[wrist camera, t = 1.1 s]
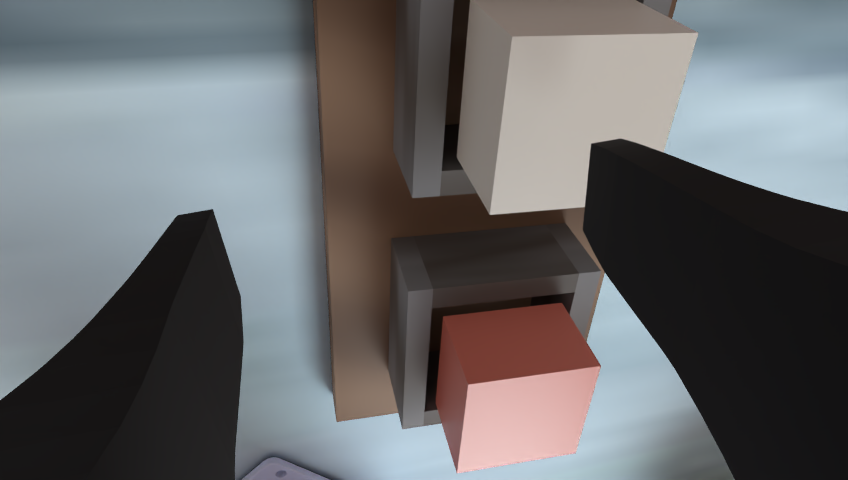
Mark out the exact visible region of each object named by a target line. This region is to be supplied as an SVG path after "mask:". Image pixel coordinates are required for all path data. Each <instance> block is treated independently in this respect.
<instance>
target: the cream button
mask: <svg viewBox="0 0 848 480" xmlns="http://www.w3.org/2000/svg"><path fill="white" fill-rule="evenodd" d="M697 36H698V32H696V31H694V30H692V29H690V28H688V27H686V26H684V25H682V24H680V23H679V22H677V21H675V20H673V19H671V18H669V17H667V16H665V15H663V14H661V13H659V12H657V11H656V10H654V9H652V8H650V7H648V6H646V5H644V4H642V3H640V2H638V1H636V0H470V7H469V19H468V30H467V42H466V54H465V65H464V77H463V89H462V100H461V112H460V124H459V135H458V147H457V159H458V161H459V162H460V164H461V166H462V167H463V169H464V171H465V173H466V174H467V176H468V178H469V180H470V181H471V183H472V185H473V187H474V188H475V190H476V192H477V194H478V195H479V197H480V199H481V201H482V202H483V204H484V206H485V207H486V209H487V211H488V213H489V214H490V215H495V214H507V213H519V212H531V211H543V210H555V209H568V208H580V207H585V200H586V190H587V180H588V169H589V159H590V149H591V143H597V142H603V141H609V140H614V139H620V138H621V139H625V140H629V141H632V142H635V143H638V144H641V145H644V146H647V147H650V148H653V149H655V150H658V151H661V152H664V149H665V145H666V142H667V139H668V135H669V132H670V128H671V125H672V121H673V118H674V115H675V111H676V108H677V104H678V101H679V97H680V94H681V91H682V87H683V84H684V80H685V77H686V74H687V70H688V67H689V63H690V60H691V56H692V53H693V50H694V46H695V43H696V39H697Z"/></svg>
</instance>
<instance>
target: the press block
mask: <svg viewBox="0 0 848 480" xmlns="http://www.w3.org/2000/svg"><path fill="white" fill-rule="evenodd" d="M636 1H638V2H640V3H642V4H644V5H646V6H648V7H650V8H652V9H654V10H656V11H657V12H659V13H661V14H663V15H665V16H667V17H669V18H671V19H672V17H673V13H674V9H675V6H676V2H677V0H636ZM469 7H470V0H313V11H314V31H315V50H316V70H317V90H318V110H319V129H320V149H321V169H322V189H323V208H324V228H325V248H326V267H327V287H328V307H329V327H330V346H331V366H332V386H333V399H334V406H335V414H336V421H337V422H339V421H346V420H353V419H360V418H367V417H373V416H380V415H387V414H394V413H399V417H400V421H401V425H402V429H407V428H414V427H421V426H427V425H434V424H440V423H441V419H440V416H439V413H438V409H437V406H436V392H437V380H438V369H439V357H440V345H441V334H442V322H443V316H451V315H460V314H468V313H477V312H486V311H494V310H503V309H512V308H520V307H529V306H537V305H546V304H555V303H562V304H563V305H564V307H565V308H566V310H567V312H568V313H569V315H570V317H571V318H572V320H573V321H574V323H575V325H576V326H577V328H578V330H579V331H580V333H581V334H582V336H583V338H584V339H585V341H587V337H588V334H589V330H590V326H591V322H592V318H593V315H594V311H595V307H596V303H597V300H598V296H599V292H600V288H601V285H602V281H603V277H604V273H605V272H604V270H603V269H602V267H601V265H600V263H599V261H598V259H597V258H596V256H595V254H594V252H593V250H592V248H591V246H590V244H589V242H588V240H587V238H586V236H585V234H584V232H583V220H584V210H585V207H580V208H568V209H555V210H543V211H531V212H519V213H507V214H495V215H490V214H489V213H488V211H487V209H486V207H485V206H484V204H483V202H482V201H481V199H480V197H479V195H478V194H477V192H476V190H475V188H474V187H473V185H472V183H471V181H470V180H469V178H468V176H467V174H466V173H465V171H464V169H463V167H462V166H461V164H460V162H459V161H458V159H457V147H458V135H459V124H460V112H461V100H462V89H463V77H464V65H465V54H466V42H467V30H468V19H469Z"/></svg>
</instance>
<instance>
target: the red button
mask: <svg viewBox="0 0 848 480" xmlns="http://www.w3.org/2000/svg"><path fill="white" fill-rule="evenodd" d="M600 368H601V365H600V363H599V362H598V360H597V359H596V357H595V355H594V354H593V352H592V351H591V349H590V347H589V346H588V344H587V342H586V341H585V339H584V338H583V336H582V334H581V333H580V331H579V330H578V328H577V326H576V325H575V323H574V321H573V320H572V318H571V317H570V315H569V313H568V312H567V310H566V308H565V307H564V305H563V304H562V303H555V304H546V305H537V306H529V307H520V308H512V309H503V310H494V311H486V312H477V313H468V314H460V315H451V316H443V322H442V334H441V345H440V357H439V369H438V380H437V392H436V406H437V409H438V413H439V416H440V419H441V423H442V426H443V429H444V432H445V436H446V439H447V442H448V445H449V449H450V452H451V455H452V458H453V462H454V465H455V468H456V472H457V473H463V472H468V471H474V470H480V469H486V468H492V467H498V466H504V465H510V464H515V463H521V462H527V461H533V460H539V459H545V458H551V457H556V456H562V455H568V454H574V453H576V450H577V447H578V443H579V440H580V436H581V433H582V429H583V426H584V423H585V419H586V416H587V412H588V409H589V405H590V402H591V399H592V395H593V392H594V388H595V385H596V382H597V378H598V375H599V371H600Z"/></svg>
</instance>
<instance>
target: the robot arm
mask: <svg viewBox="0 0 848 480" xmlns="http://www.w3.org/2000/svg"><path fill="white" fill-rule="evenodd" d="M583 232H584V234H585V236H586V238H587V240H588V242H589V244H590V246H591V248H592V250H593V252H594V254H595V256H596V258H597V259H598V261H599V263H600V265H601V267H602V269H603V270H604V272H605V273H606V274H607V276H608V277H609V279H610V280H611V281H612V283H613V284H614V286H615V287H616V288H617V290H618V291H619V292H620V294H621V295H622V297H623V298H624V299H625V301H626V302H627V303H628V305H629V306H630V307H631V309H632V310H633V311H634V313H635V314H636V316H637V317H638V318H639V320H640V321H641V322H642V324H643V325H644V326H645V328H646V329H647V330H648V332H649V333H650V334H651V336H652V337H653V338H654V340H655V341H656V342H657V344H658V345H659V347H660V348H661V349H662V351H663V352H664V354H665V355H666V356H667V358H668V359H669V361H670V362H671V364H672V365H673V367H674V368H675V370H676V372H677V373H678V375H679V377H680V379H681V380H682V382H683V384H684V385H685V387H686V389H687V391H688V392H689V394H690V396H691V398H692V399H693V401H694V403H695V405H696V406H697V408H698V410H699V412H700V413H701V415H702V417H703V419H704V421H705V423H706V425H707V426H708V428H709V430H710V432H711V434H712V436H713V438H714V440H715V441H716V443H717V445H718V447H719V449H720V451H721V453H722V454H723V456H724V458H725V460H726V462H727V464H728V467H729V469H730V471H731V473H732V475H733V477H734V479H735V480H848V212H846V211H841V210H837V209H833V208H829V207H825V206H821V205H817V204H813V203H809V202H805V201H801V200H798V199H794V198H790V197H787V196H784V195H780V194H777V193H774V192H771V191H767V190H764V189H761V188H758V187H755V186H752V185H749V184H746V183H743V182H740V181H737V180H735V179H732V178H729V177H726V176H723V175H721V174H718V173H715V172H713V171H710V170H707V169H705V168H702V167H699V166H697V165H694V164H692V163H689V162H686V161H684V160H681V159H679V158H676V157H674V156H671V155H668V154H666V153H663V152H661V151H658V150H655V149H653V148H650V147H647V146H644V145H641V144H638V143H635V142H632V141H629V140H625V139H621V138H620V139H614V140H609V141H603V142H597V143H591V149H590V159H589V169H588V180H587V190H586V200H585V210H584V220H583ZM242 356H243V326H242V310H241V296H240V293H239V290H238V287H237V284H236V281H235V277H234V274H233V271H232V268H231V265H230V262H229V259H228V256H227V252H226V249H225V246H224V243H223V240H222V237H221V234H220V231H219V227H218V224H217V221H216V218H215V215H214V212H213V209H211V210H206V211H200V212H194V213H188V214H183V215H178V216H177V217H176V218H175V219H174V220H173V222H172V223H171V224H170V226H169V227H168V228H167V230H166V231H165V232H164V233H163V235H162V236H161V237H160V239H159V240H158V241H157V243H156V244H155V245H154V247H153V248H152V249H151V251H150V252H149V253H148V254H147V256H146V257H145V258H144V260H143V261H142V262H141V263H140V265H139V266H138V267H137V268H136V270H135V271H134V272H133V273H132V275H131V276H130V277H129V278H128V280H127V281H126V282H125V283H124V284H123V285H122V287H121V288H120V289H119V290H118V291H117V292H116V293H115V294H114V296H113V297H112V298H111V299H110V300H109V301H108V302H107V303H106V304H105V306H104V307H103V308H102V309H101V310H100V311H99V312H98V313H97V315H96V316H95V317H94V318H93V319H92V320H91V321H90V322H89V323H88V324H87V325H86V326H85V327H84V328H83V329H82V330H81V331H80V332H79V333H78V334H77V335H76V336H75V337H74V338H73V339H72V340H71V341H70V342H69V343H68V344H67V345H66V346H65V347H64V348H62V349H61V350H60V351H59V352H58V353H57V354H56V355H55V356H54V357H53V358H51V359H50V360H49V361H48V362H47V363H46V364H45V365H44V366H43V367H41V368H40V369H39V370H38V371H37V372H35V373H34V374H33V375H32V376H30V377H29V378H28V379H27V380H25V381H24V382H23V383H22V384H20V385H19V386H18V387H17V388H15V389H14V390H13V391H12V392H10V393H9V394H8V395H6V396H5V397H4V398H3V399H1V400H0V480H235V445H236V432H237V420H238V407H239V395H240V383H241V369H242ZM242 480H330V479H327V478H325V477H322V476H320V475H318V474H315V473H313V472H311V471H308V470H306V469H304V468H301V467H299V466H296V465H294V464H292V463H289V462H287V461H285V460H282V459H280V458H276V457H271V458H268V459H266V460H264V461H263V462H262V463H261V464H259V465H258V466H257V467H256V468H255V469H254V470H252V471H251V472H250V473H249V474H248V475H246V476H245V477H244V478H243V479H242Z"/></svg>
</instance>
